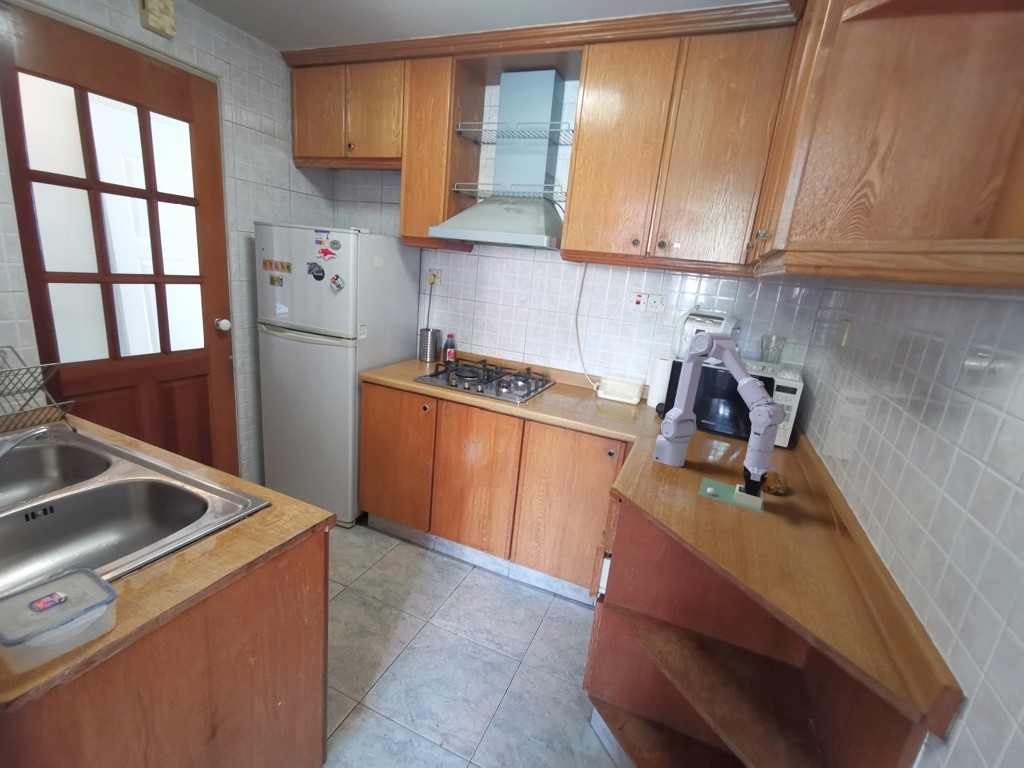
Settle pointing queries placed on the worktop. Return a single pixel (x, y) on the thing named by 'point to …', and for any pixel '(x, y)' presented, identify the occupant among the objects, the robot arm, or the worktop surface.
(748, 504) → the white rectangular frame
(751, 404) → the robot arm
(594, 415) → the worktop surface
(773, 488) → the bread roll
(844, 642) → the worktop surface
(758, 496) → the plug
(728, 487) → the board
